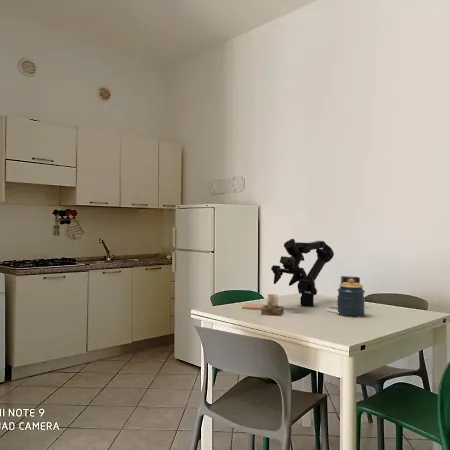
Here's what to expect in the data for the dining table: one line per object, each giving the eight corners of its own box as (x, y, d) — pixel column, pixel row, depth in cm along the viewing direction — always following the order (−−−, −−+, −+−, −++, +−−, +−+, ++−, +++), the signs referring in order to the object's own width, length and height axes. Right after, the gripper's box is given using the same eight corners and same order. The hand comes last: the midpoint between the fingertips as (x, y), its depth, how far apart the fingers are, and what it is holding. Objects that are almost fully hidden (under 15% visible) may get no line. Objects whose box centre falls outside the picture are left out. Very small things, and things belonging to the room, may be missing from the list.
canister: (345, 317, 207) (346, 280, 207) (332, 312, 219) (332, 277, 220) (370, 316, 210) (370, 279, 210) (355, 311, 223) (355, 276, 223)
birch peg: (278, 312, 216) (278, 294, 216) (276, 314, 211) (277, 296, 211) (268, 312, 218) (268, 293, 218) (266, 314, 213) (266, 295, 213)
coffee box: (341, 307, 234) (342, 277, 234) (339, 305, 240) (340, 276, 240) (359, 308, 233) (360, 277, 233) (357, 306, 239) (357, 276, 239)
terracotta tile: (266, 306, 233) (266, 304, 233) (263, 310, 222) (263, 308, 222) (246, 305, 236) (246, 303, 236) (242, 308, 225) (242, 306, 225)
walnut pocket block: (283, 312, 218) (283, 306, 218) (280, 315, 209) (281, 309, 209) (264, 310, 220) (264, 304, 220) (261, 314, 211) (261, 308, 211)
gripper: (273, 249, 230) (260, 272, 222) (304, 251, 218) (291, 275, 209) (281, 264, 236) (269, 286, 228) (312, 266, 223) (299, 290, 215)
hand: (281, 284), depth 220 cm, fingers open, 9 cm apart
